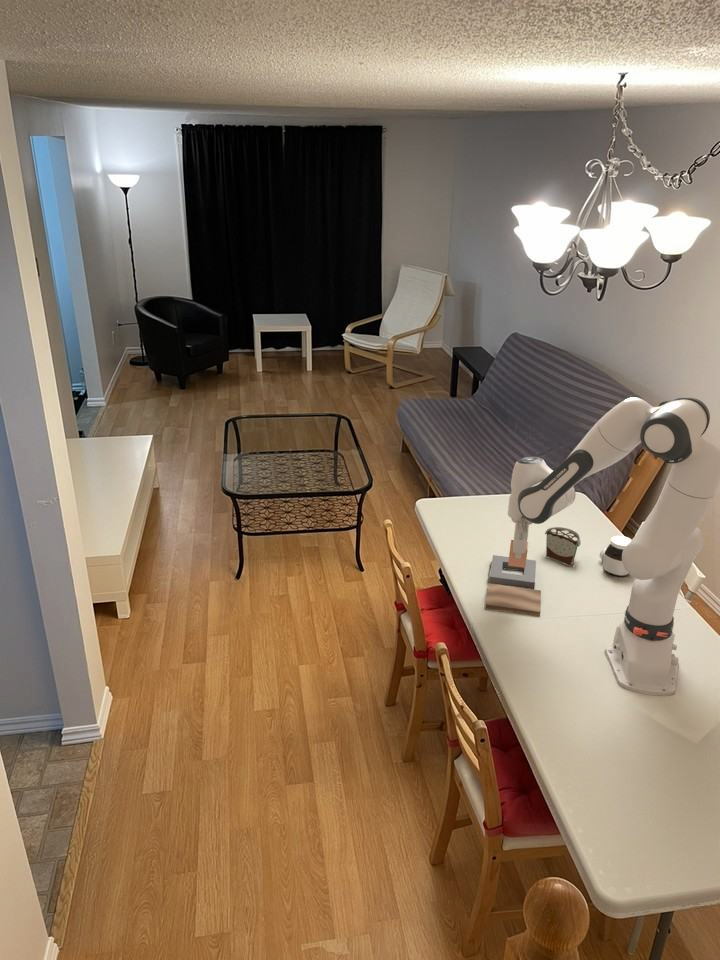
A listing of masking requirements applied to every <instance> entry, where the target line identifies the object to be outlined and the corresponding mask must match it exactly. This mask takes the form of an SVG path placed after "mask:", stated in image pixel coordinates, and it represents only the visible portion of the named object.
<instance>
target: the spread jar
mask: <svg viewBox="0 0 720 960" xmlns="http://www.w3.org/2000/svg"><path fill="white" fill-rule="evenodd" d="M631 541H632V539H631V538H630V537H628V536H624V535H615V536H612V537H611V538H610V543H609V544H608V546H605V547H604V548H603V549H602V550H601V551H600V553H599V559H600V560H601V561H602V570H603V571H604V572H605V573H606V574H607V575H609V576H611V577H614V578H626V577H627V576H628V575H630V574H629V573H628V572H627V571H626V569H625V568H624V565H623V563H622V552H623V550H624V548H625V547H626V546H627V545H628V544H629V543H630V542H631Z"/></svg>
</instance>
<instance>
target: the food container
mask: <svg viewBox="0 0 720 960" xmlns="http://www.w3.org/2000/svg"><path fill="white" fill-rule="evenodd" d="M544 535H546V538H545V539H546V541H545V542H546V543H545V545H546V546H545V547H546V549H545V557H547V558H548V557H549V559H552V560H553V561H557V562H559V563H562V564H564V565H566V566H568V567H569V566H570V567H572V566H573V564H574V561H575V558H576V557H575V556H576V554H577V550H578V547H580V546H581V542H582V541H581V536H580V535H579V533H578V532H577V531H574V530H573V529H571V528H569V527H567V528H566V527H560V526H555V527H554V526H553V527H549V528H547V529H546V530H545V532H544Z"/></svg>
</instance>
